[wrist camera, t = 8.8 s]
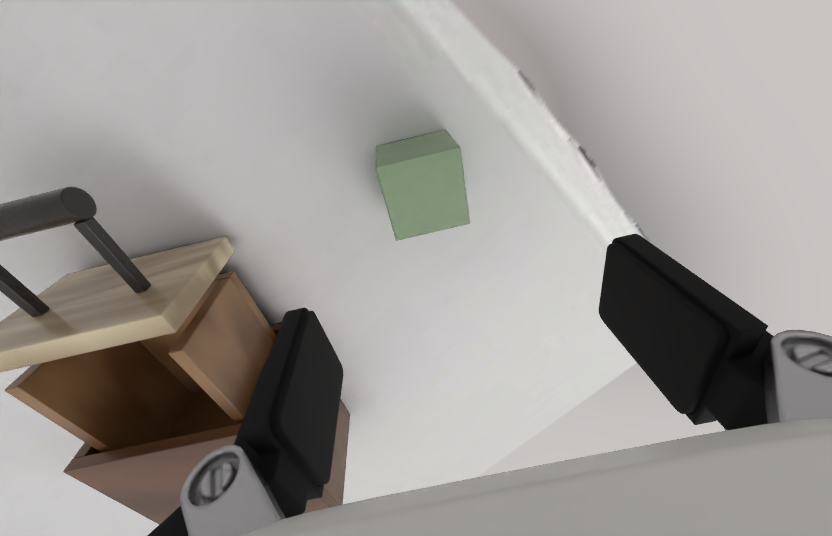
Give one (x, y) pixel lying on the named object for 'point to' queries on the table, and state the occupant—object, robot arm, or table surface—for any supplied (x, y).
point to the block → (423, 184)
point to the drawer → (130, 335)
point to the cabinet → (181, 468)
